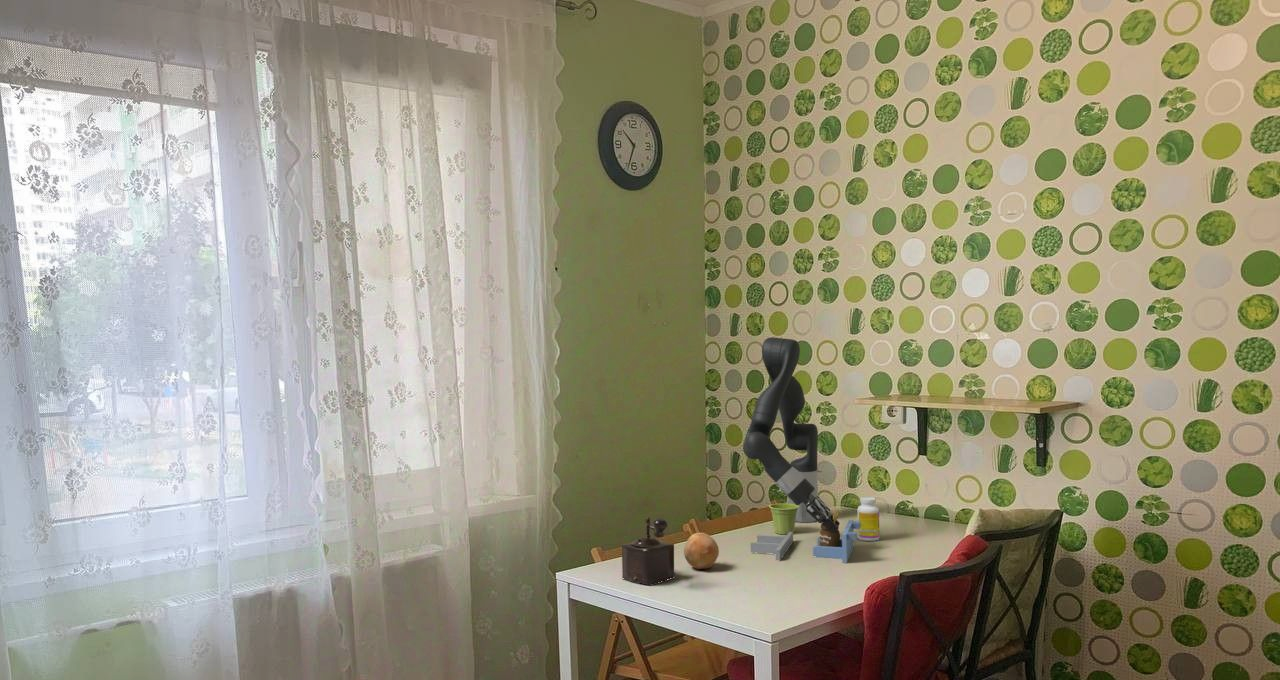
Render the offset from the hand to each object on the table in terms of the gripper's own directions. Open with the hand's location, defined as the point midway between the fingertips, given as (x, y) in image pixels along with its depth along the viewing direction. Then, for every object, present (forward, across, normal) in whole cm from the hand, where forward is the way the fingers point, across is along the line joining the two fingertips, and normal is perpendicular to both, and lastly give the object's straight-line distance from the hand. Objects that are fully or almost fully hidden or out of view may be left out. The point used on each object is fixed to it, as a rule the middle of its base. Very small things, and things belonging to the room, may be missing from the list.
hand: (836, 528), depth 269 cm
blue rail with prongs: (+5, 0, +5) cm, 8 cm away
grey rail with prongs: (-9, 0, +20) cm, 21 cm away
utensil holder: (+3, 0, +6) cm, 6 cm away
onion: (-19, -25, +30) cm, 43 cm away
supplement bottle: (+11, +20, 0) cm, 23 cm away
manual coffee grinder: (-25, -40, +36) cm, 60 cm away
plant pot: (-8, +23, +19) cm, 31 cm away
